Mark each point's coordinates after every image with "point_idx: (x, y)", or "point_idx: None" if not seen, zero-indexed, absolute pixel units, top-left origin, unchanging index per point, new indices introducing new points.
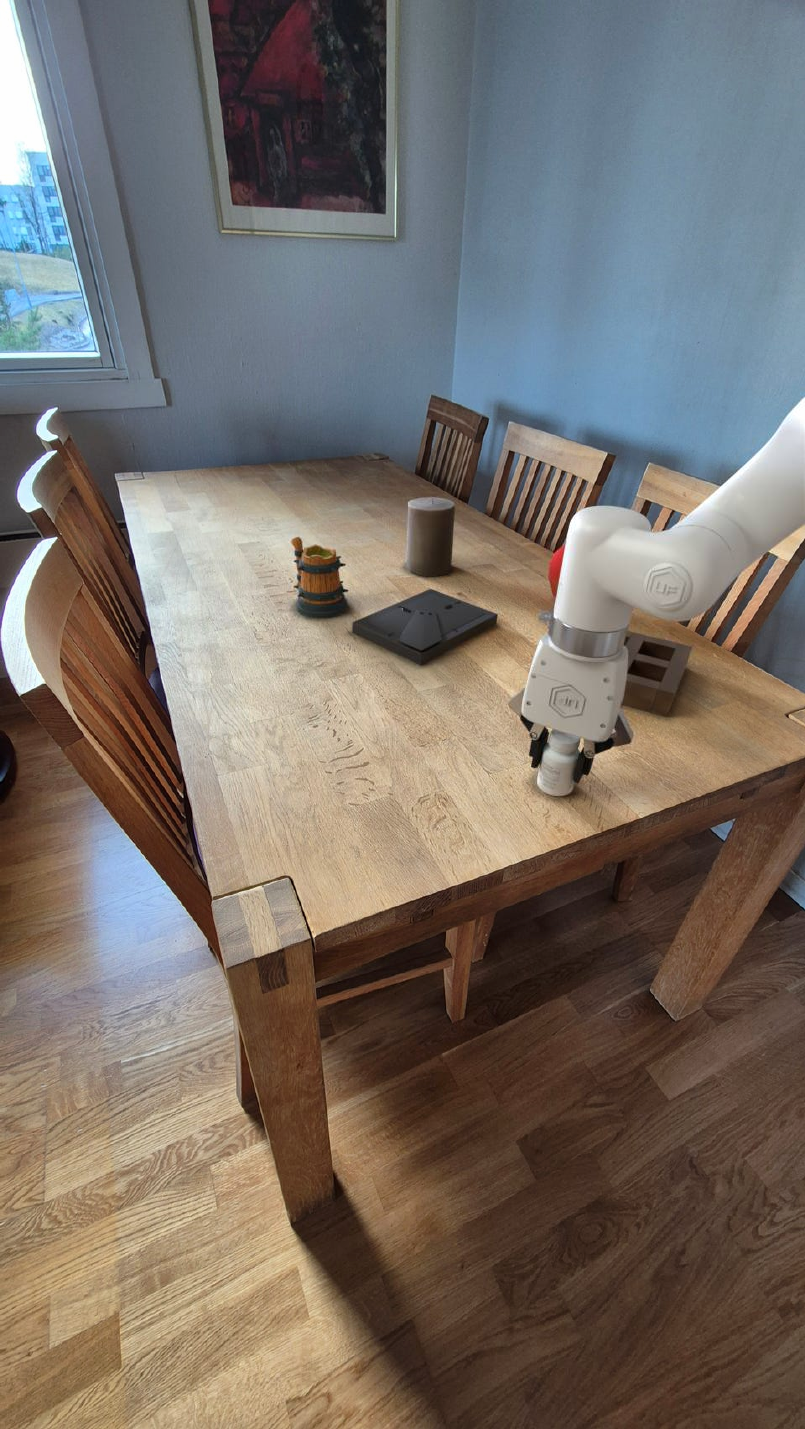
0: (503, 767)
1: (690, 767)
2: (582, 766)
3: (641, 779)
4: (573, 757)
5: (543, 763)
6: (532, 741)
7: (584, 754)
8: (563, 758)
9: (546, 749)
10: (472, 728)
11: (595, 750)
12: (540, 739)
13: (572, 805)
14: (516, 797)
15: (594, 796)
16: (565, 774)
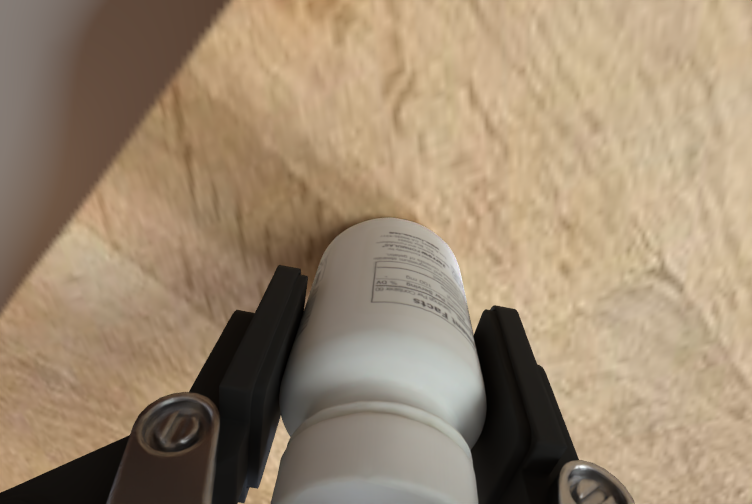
0: (593, 315)
1: (27, 449)
2: (246, 337)
3: (124, 378)
4: (306, 385)
5: (465, 327)
6: (567, 446)
7: (228, 414)
8: (362, 364)
9: (472, 409)
10: (697, 459)
11: (127, 458)
12: (530, 470)
13: (303, 189)
14: (542, 161)
15: (237, 263)
16: (342, 289)
